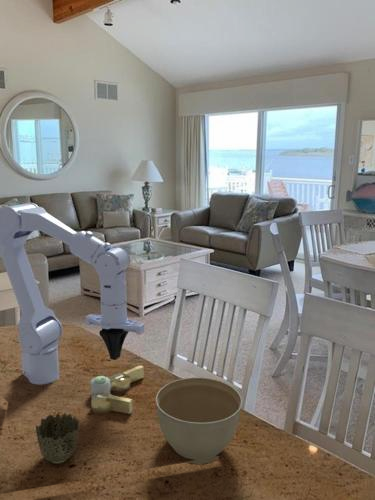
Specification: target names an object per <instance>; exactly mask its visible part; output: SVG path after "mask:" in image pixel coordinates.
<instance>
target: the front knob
mask: <svg viewBox="0 0 375 500" xmlns="http://www.w3.org/2000/svg"><path fill="white" fill-rule="evenodd" d="M90 402H91V411H92V412H93V413H95V414H98V415H104V414H109V413H110V412H112V411H113V412H118V413H124V414H128V415H130V414H131V413H133V398H127V397H123V396H118V395H113V394H112V393H111V394H109V393H99V394H96V395H94V396H93V397H92V398H91V399H90Z"/></svg>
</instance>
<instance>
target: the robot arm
mask: <svg viewBox="0 0 375 500" xmlns="http://www.w3.org/2000/svg"><path fill="white" fill-rule="evenodd" d="M35 231H36V232H37V231H39V232H42V233H44V234H46V235H48V236H50V237H51V238H54V239H56V240H58V241H60V242H62V243H64V244H65V245H68V248H69V252H70V253H71V255H74V256H76V257H77V258H79V259H81V260H82V261H84V262H86V263H88V264H90V265H91V266H93V267H94V270H95V272H96V274H98V277H99V285H100V288H99V289H100V290H99V291H100V314H91V313H90V314H88V315H86V316H85V317H84V318H85V325H87V326H90V325H93V326H94V325H95V326H98V327H100V328H101V330H99V336H100V337H101V338H102V340H103V342H104V343H105V346H106V349H107V351H108V356H109V358H110V360H112V361H113V360H114V361H116V360H118V359H119V358H120V357H121V353H122V349H123V345H124V342H125V339H126V338H127V336H128V334H129V332H130V333H135V335H139V336H140V335H142V334H143V333H145V323H142V322H138V321H136V320H134V319H131V318H129V317H128V305H127V304H128V303H127V271H126V270H127V269H128V268H129V266H130V264H131V258H130V255H129V253H128V251H127V250H126V249H124V247H122V246H119V245H115V246H112V244H111V243H109V242H104V240H103V241H102V240H101V239H100V238H98V237H96V236H94V233H93V232H92V231H90V230H87V231H85V230H81V231H79V232H77V231H76V230H74V229H72V228H71V227H70V226H68V225H66V224H65V223H64V222H62V221H60V220H59V219H57V218H56V217H54V216H53V215H51V214H50V213H48V212H47V211H46V210H45V208H44V207H42V206H38V204H36V203H34V202H26V203H21V204H15V205H9V206H8V205H7V206H6V205H5V206H2V207H0V257H1V260H2V262H3V265H4V268H5V270H6V273H7V277H8V279H9V281H10V284H11V287H12V290H13V293H14V296H15V299H16V301H17V304H18V306H19V307H18V308H19V309H20V312H21V317H20V319H19V322H18V324H17V331H18V342H19V345H20V347H21V349H22V351H21V366H22V375H23V376H25V377H26V378H27V380H28V381H29V382H30V383H31V384H32V385H33V384H34V385H47V384H50V383H54V382H55V381H57V380H58V379H59V378H60V365H59V363H60V362H59V351H58V350H59V349H58V344H59V339H60V338H61V337H62V336H63V332H64V330H63V324H62V323H61V321H60V320H59V319H58V318H57V316H56V315H55V311H54V310H52V309H51V308H48V307H47V306H46V305H45V303H44V300H43V297H42V295H41V294H42V293H41V292H40V289H39V286H38V283H37V280H36V277H35V274H34V272H33V269H32V266H31V263H30V260H29V256H28V254H27V251H26V250H25V243H26V242H27V240H28V238H29V236H30V235H31V234H32V233H34V232H35Z"/></svg>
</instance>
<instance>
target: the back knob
mask: <svg viewBox="0 0 375 500" xmlns="http://www.w3.org/2000/svg"><path fill="white" fill-rule="evenodd" d="M144 370H145V368H144V366H143V365H137V366H135V367H132V368H131V369H127V370H126V371H123V372H122V373H115V374H113V375H111V376H110V377H109V379H110V391H112V392H117V393H122V392H126V391H128V390H129V389H131V384H132V383H134V382H137V381H138V380H141V379H143V378H145V372H144Z"/></svg>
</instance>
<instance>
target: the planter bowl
mask: <svg viewBox="0 0 375 500" xmlns="http://www.w3.org/2000/svg"><path fill="white" fill-rule="evenodd" d="M155 406H156V411H157V418H158V424H159V427H160V429H161V431H162V434H163V436H164V437H165V439H166V441H167V443H168V444H169V445H170V446H171V447H172V449H173V450H174V451H175V453H177V454H178V455H180V456H181V457H183V458H186V459H190V460H188V461H187V460H186V461H185V462H186V463H187V464H188V463H189V464H193V465H203V464H210V463H212V462H214V461H216V460H217V459H219V458H220V457H221V456H220V455H219V454H220V453H223V450H224V449H225V448H226V447H227V446H228V445H229V444H230V441H232V439H233V437H234V436H235V434H236V431H237V429H238V426H239V422H240V417H241V411H242V408H243V398H242V396H241V394H240V392H239V391H238V390H236V388H235V387H233V386H232V385H230V384H228V383H226V382H224V381H221V380H217V379H213V378H209V377H185V378H181V379H176V380H173V381H171V382H169V383H167V384H165V385H164V386H162V387H161V388H160V389H159V390H158V392H157V394H156V397H155Z"/></svg>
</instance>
